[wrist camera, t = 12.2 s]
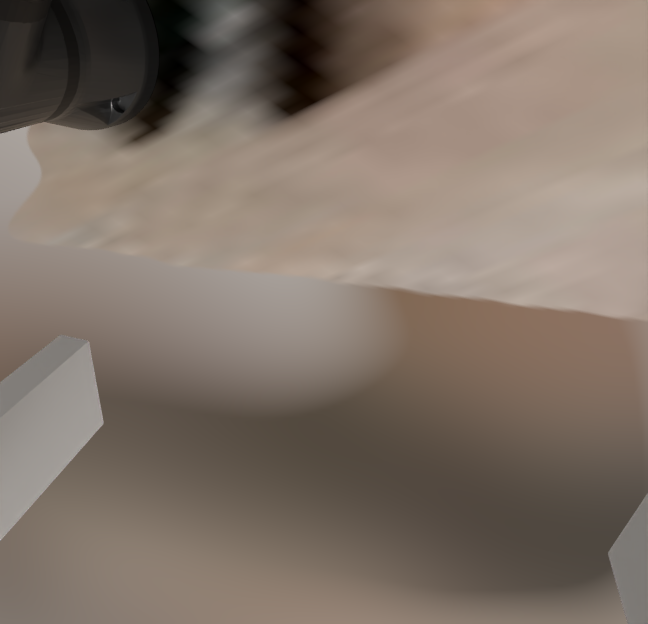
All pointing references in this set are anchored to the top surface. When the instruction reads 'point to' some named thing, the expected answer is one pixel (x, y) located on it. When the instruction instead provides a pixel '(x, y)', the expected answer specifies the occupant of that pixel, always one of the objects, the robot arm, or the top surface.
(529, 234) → the top surface
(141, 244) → the top surface
